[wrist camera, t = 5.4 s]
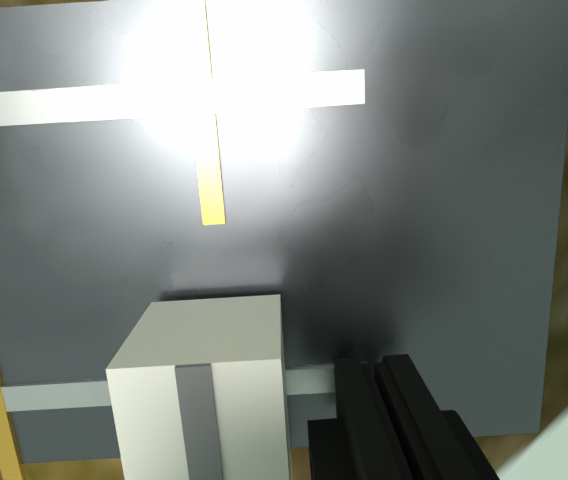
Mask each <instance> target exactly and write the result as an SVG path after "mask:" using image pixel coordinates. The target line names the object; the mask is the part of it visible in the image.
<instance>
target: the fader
mask: <svg viewBox="0 0 568 480" xmlns="http://www.w3.org/2000/svg"><path fill="white" fill-rule="evenodd" d="M106 375H107V381H108V386H109V392H110V398H111V404H112V409H113V415H114V421H115V427H116V432H117V438H118V444H119V449H120V455H121V461H122V467H123V472H124V478H125V480H292V466H291V451H290V435H289V420H288V405H287V390H286V375H285V360H284V344H283V329H282V314H281V299H280V294H279V295H262V296H245V297H229V298H212V299H196V300H179V301H163V302H151V304H150V305H149V307H148V308H147V309H146V311H145V312H144V314H143V315H142V317H141V318H140V320H139V321H138V323H137V324H136V326H135V327H134V328H133V330H132V331H131V333H130V334H129V336H128V337H127V339H126V340H125V342H124V343H123V345H122V346H121V347H120V349H119V350H118V352H117V353H116V355H115V356H114V358H113V359H112V361H111V362H110V364H109V365H108V366H107V368H106Z"/></svg>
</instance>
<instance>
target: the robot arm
mask: <svg viewBox="0 0 568 480" xmlns="http://www.w3.org/2000/svg"><path fill="white" fill-rule="evenodd" d="M334 375H335V397H336V418H331V419H317V420H307V426H308V443H309V458H310V470H311V480H500V479H499V478H498V476H497V474H496V473H495V471H494V470H493V468H492V467H491V465H490V463H489V462H488V460H487V459H486V457H485V455H484V454H483V452H482V451H481V449H480V447H479V446H478V444H477V443H476V441H475V440H474V438H473V436H472V435H471V433H470V432H469V430H468V428H467V427H466V425H465V424H464V422H463V420H462V419H461V417H460V416H459V414H458V413H457V412H456V411H455V410H440V409H439V407H438V405H437V403H436V402H435V400H434V398H433V396H432V395H431V393H430V391H429V389H428V388H427V386H426V384H425V383H424V381H423V379H422V377H421V376H420V374H419V372H418V370H417V369H416V367H415V365H414V363H413V362H412V360H411V358H410V356H409V355H408V354H398V355H384V356H383V357H382V362H376V363H375V364H374V376H373V374H372V371H371V368H370V366H369V364H368V363H362V364H361V363H360V360H359V358H358V357H357V358H343V359H334Z"/></svg>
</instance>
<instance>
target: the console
mask: <svg viewBox="0 0 568 480" xmlns="http://www.w3.org/2000/svg"><path fill="white" fill-rule="evenodd" d="M567 125H568V0H112V1H96V2H80V3H64V4H48V5H32V6H16V7H0V469H1V473H2V477H3V480H25V476H24V471H23V467H22V464H23V463H40V462H57V461H74V460H91V459H108V458H121V455H120V449H119V444H118V438H117V432H116V427H115V421H114V415H113V409H112V404H111V398H110V392H109V386H108V381H107V375H106V368H107V366H108V365H109V364H110V362H111V361H112V359H113V358H114V356H115V355H116V353H117V352H118V350H119V349H120V347H121V346H122V345H123V343H124V342H125V340H126V339H127V337H128V336H129V334H130V333H131V331H132V330H133V328H134V327H135V326H136V324H137V323H138V321H139V320H140V318H141V317H142V315H143V314H144V312H145V311H146V309H147V308H148V307H149V305H150V304H151V302H163V301H179V300H196V299H212V298H229V297H245V296H262V295H279V294H280V299H281V314H282V329H283V344H284V360H285V375H286V390H287V405H288V420H289V435H290V448H294V447H309V443H308V426H307V420H317V419H331V418H336V397H335V375H334V359H343V358H357V357H358V358H359V360H360V363H361V364H362V363H368V364H369V366H370V368H371V371H372V374H373V376H374V364H375V363H376V362H382V357H383V356H384V355H398V354H408V355H409V356H410V358H411V360H412V362H413V363H414V365H415V367H416V369H417V370H418V372H419V374H420V376H421V377H422V379H423V381H424V383H425V384H426V386H427V388H428V389H429V391H430V393H431V395H432V396H433V398H434V400H435V402H436V403H437V405H438V407H439V409H440V410H455V411H456V412H457V413H458V414H459V416H460V417H461V419H462V420H463V422H464V424H465V425H466V427H467V428H468V430H469V432H470V433H471V435H472V436H473V437H480V436H497V435H514V434H531V433H539V430H540V419H541V408H542V397H543V386H544V375H545V364H546V353H547V343H548V332H549V321H550V310H551V299H552V288H553V277H554V266H555V255H556V244H557V234H558V223H559V212H560V201H561V190H562V179H563V168H564V157H565V146H566V135H567Z"/></svg>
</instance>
